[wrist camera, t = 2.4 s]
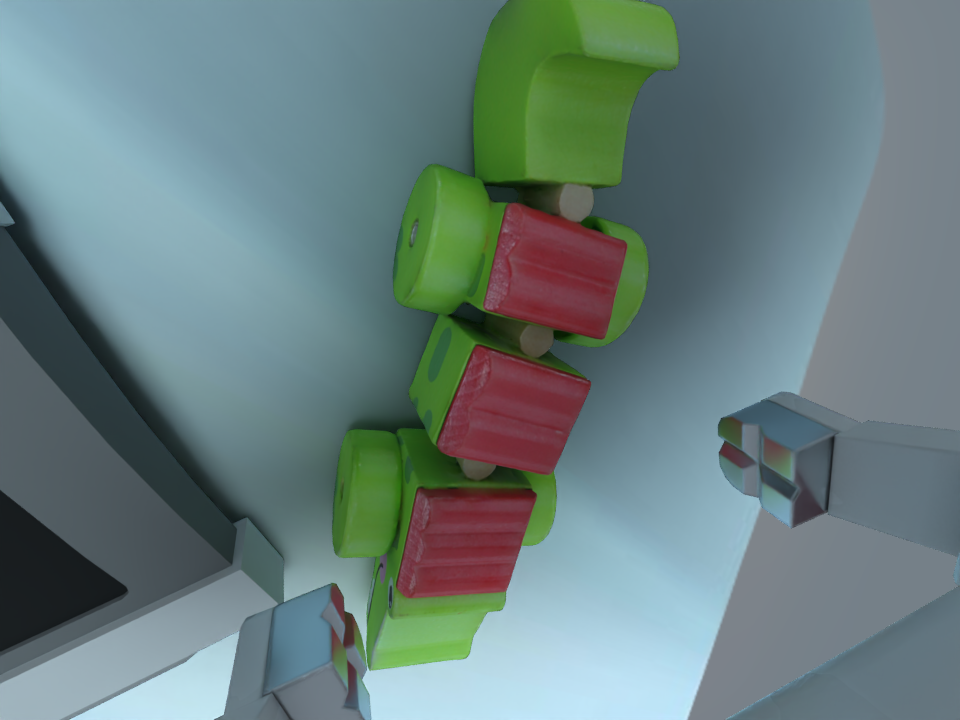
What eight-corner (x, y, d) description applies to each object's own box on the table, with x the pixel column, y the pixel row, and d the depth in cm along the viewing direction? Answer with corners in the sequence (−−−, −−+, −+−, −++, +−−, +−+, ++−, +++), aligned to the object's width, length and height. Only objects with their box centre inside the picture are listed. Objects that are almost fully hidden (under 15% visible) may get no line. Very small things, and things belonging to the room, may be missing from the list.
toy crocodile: (468, 597, 20) (522, 753, 14) (302, 598, 17) (292, 787, 12) (641, 100, 15) (825, 51, 9) (443, 2, 12) (538, -140, 7)
